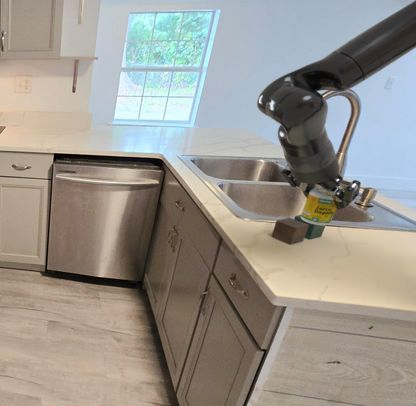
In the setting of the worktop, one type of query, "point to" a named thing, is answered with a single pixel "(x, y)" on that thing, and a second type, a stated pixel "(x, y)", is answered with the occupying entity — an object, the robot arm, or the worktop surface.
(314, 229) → the green block
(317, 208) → the supplement bottle
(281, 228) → the walnut block
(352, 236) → the worktop surface
